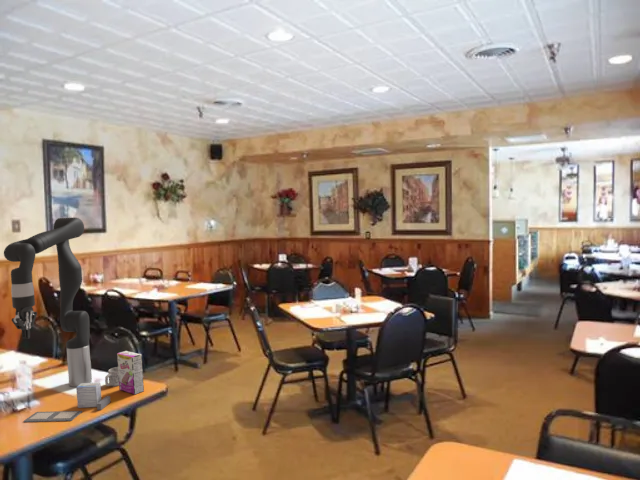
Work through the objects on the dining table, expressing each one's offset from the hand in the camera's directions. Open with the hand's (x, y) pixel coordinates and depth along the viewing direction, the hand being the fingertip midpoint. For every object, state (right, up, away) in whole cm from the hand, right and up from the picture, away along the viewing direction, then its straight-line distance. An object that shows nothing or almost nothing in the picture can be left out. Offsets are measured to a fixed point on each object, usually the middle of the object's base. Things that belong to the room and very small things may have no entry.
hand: (26, 338), depth 193 cm
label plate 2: (+18, -29, -5) cm, 34 cm away
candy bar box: (+33, -27, +20) cm, 47 cm away
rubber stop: (+28, -28, +4) cm, 40 cm away
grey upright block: (+22, -28, +5) cm, 36 cm away
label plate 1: (+9, -29, -5) cm, 31 cm away
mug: (+23, -27, +28) cm, 45 cm away
